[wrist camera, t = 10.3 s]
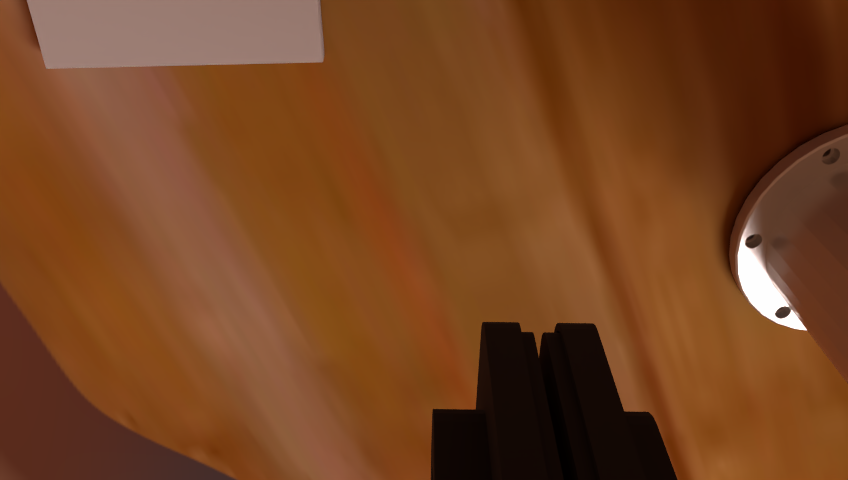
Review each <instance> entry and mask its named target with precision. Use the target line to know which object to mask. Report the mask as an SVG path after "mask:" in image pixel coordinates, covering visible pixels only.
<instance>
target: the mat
mask: <svg viewBox="0 0 848 480" xmlns="http://www.w3.org/2000/svg"><path fill="white" fill-rule="evenodd" d="M27 3H28V6H29V10H30V13H31V17H32V20H33V24H34V27H35V31H36V34H37V38H38V41H39V45H40V48H41V52H42V55H43V59H44V62H45V66H46V69H54V68H97V67H139V66H181V65H223V64H266V63H308V62H323V59H324V43H323V31H322V19H321V6H320V0H27Z"/></svg>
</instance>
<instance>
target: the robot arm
mask: <svg viewBox="0 0 848 480" xmlns="http://www.w3.org/2000/svg"><path fill="white" fill-rule="evenodd" d="M729 259H730V265H731V271H732V275H733V277H734V279H735V282H736V284H737V286H738V288H739V290H740V291H741V292H742V294H743V295H744V297H745V298H746V299H747V301H748V302H749V304H750V305H751V306H752V307H753V308H755V309H756V310H757V311H758V312H759V313H760V314H761V315H762V316H764V317H766V318H767V319H769V320H771V321H772V322H774V323H777V324H780V325H783V326H786V327H789V328H792V329H799V330H807V331H808V332H809V333H810V335H811V336H812V337H813V339H814V340H815V341H816V343H817V344H818V345H819V346H820V348H821V349H822V350H823V352H824V353H825V354H826V356H827V357H828V358H829V360H830V361H831V362H832V363H833V365H834V366H835V367H836V369H837V370H838V371H839V373H840V374H841V375H842V377H843V378H844V379H845V380H846V382H847V383H848V125H845V126H842V127H839V128H837V129H834V130H831V131H828V132H826V133H823V134H821V135H819V136H818V137H816V138H814V139H812V140H810V141H808V142H806V143H805V144H803V145H801V146H799V147H798V148H797V149H795V150H794V151H792V152H791V153H790V154H788V155H787V156H786V157H784V158H783V159H782V160H780V161H779V162H778V163H777V164H776V165H775V166H774V167H773V168H772V169H771V170H770V171H769V172H768V173H767V174H766V175H765V176H764V177H763V178H762V179H761V180H760V181H759V182H758V184H757V185H756V186H755V188H754V189H753V190H752V192H751V193H750V194H749V196H748V197H747V198H746V200H745V202H744V204H743V206H742V208H741V210H740V212H739V214H738V216H737V218H736V221H735V224H734V227H733V231H732V234H731V237H730V250H729ZM431 480H677V477H676V475H675V472H674V469H673V467H672V464H671V461H670V459H669V456H668V453H667V451H666V448H665V445H664V442H663V440H662V437H661V434H660V432H659V429H658V426H657V424H656V422H655V420H654V418H653V416H652V415H651V414H650V413H649V412H624V410H623V407H622V404H621V401H620V398H619V395H618V392H617V388H616V385H615V382H614V379H613V376H612V373H611V370H610V367H609V364H608V361H607V358H606V355H605V352H604V349H603V346H602V343H601V340H600V337H599V334H598V330H597V328H596V326H595V325H594V324H588V323H557V324H556V327H555V331H554V333H546V332H544V333H543V335H542V339H541V346H540V355H539V357H538V352H537V347H536V342H535V337H534V334H533V332H521V328H520V324H519V323H515V322H483V323H482V329H481V342H480V357H479V371H478V385H477V400H476V410H457V409H433V414H432V445H431Z"/></svg>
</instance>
